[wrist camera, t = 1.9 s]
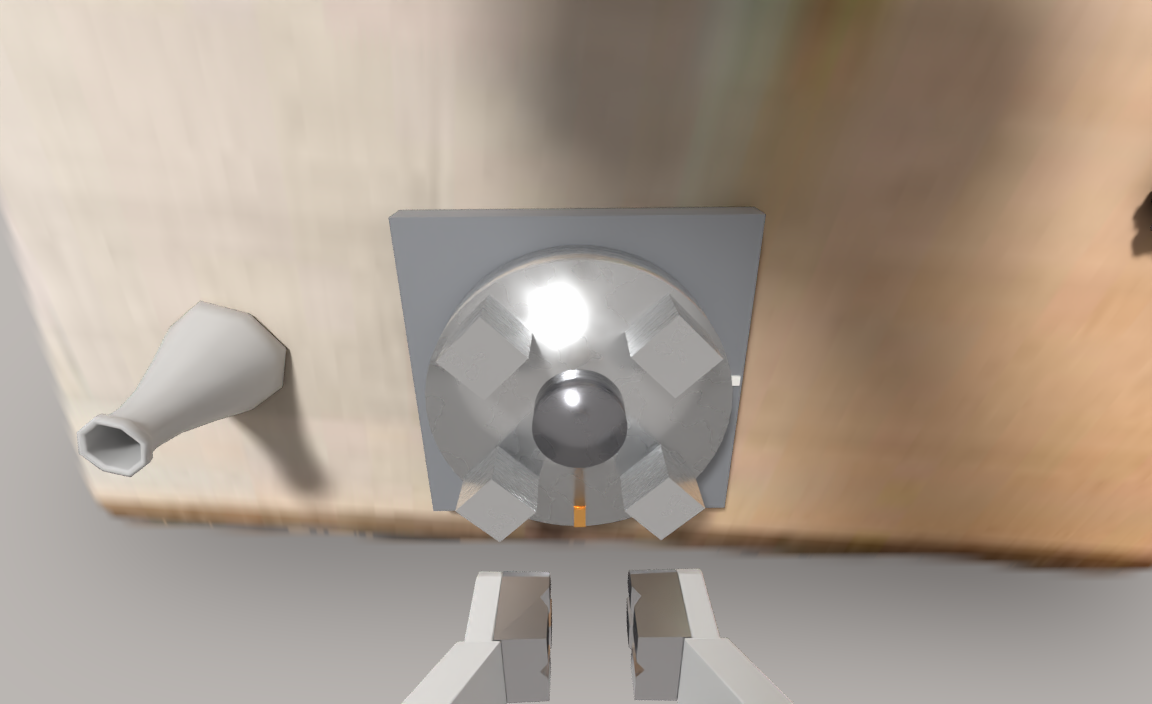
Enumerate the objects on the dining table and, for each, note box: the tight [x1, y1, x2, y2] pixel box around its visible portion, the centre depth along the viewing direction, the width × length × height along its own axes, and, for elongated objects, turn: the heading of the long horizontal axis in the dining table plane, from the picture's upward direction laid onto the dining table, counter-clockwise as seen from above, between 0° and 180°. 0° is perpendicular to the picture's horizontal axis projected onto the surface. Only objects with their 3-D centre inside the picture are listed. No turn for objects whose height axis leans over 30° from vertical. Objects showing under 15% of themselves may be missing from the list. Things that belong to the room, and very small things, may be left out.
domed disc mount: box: [425, 245, 733, 542], centre depth 31 cm, size 17×17×6 cm
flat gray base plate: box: [389, 207, 766, 511], centre depth 34 cm, size 20×20×2 cm
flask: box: [77, 301, 286, 477], centre depth 30 cm, size 7×7×10 cm
